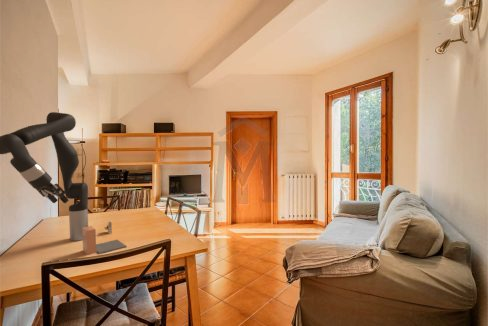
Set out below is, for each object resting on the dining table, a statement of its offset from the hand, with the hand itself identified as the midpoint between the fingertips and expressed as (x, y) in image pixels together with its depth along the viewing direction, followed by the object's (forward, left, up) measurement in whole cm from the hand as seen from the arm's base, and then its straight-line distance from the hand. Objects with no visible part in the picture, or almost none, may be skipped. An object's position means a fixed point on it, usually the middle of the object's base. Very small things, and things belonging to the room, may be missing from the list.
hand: (61, 201), depth 116 cm
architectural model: (-28, +28, -28) cm, 49 cm away
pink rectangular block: (-1, +11, -27) cm, 30 cm away
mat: (-1, +20, -27) cm, 34 cm away
